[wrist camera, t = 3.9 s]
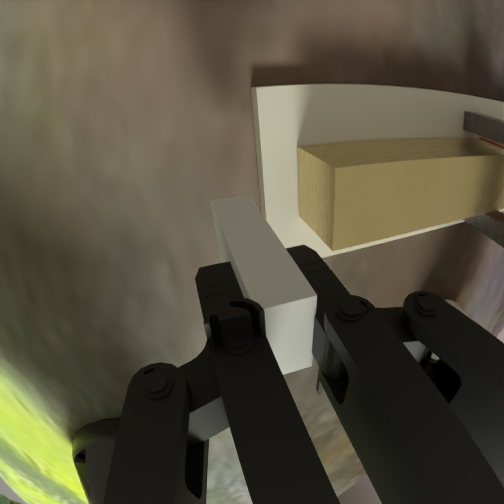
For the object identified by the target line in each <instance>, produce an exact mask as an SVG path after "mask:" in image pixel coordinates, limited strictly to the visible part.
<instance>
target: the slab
mask: <svg viewBox="0 0 504 504" xmlns="http://www.w3.org/2000/svg"><path fill="white" fill-rule="evenodd" d="M251 94H252V106H253V118H254V129H255V142H256V154H257V166H258V179H259V192H260V205H261V214H262V215H263V216H264V218H265V219H266V221H267V222H268V224H269V225H270V227H271V228H272V229H273V231H274V232H275V234H276V235H277V237H278V238H279V240H280V241H281V242H282V244H283V245H284V247H285V248H290V247H294V246H299V245H306V246H308V247H309V248H311V249H313V250H315V251H316V252H317V253H318V254H319V256H320V257H321V258H323V257H327V256H331V255H336V254H340V253H344V252H348V251H352V250H356V249H360V248H364V247H368V246H372V245H376V244H380V243H384V242H388V241H392V240H396V239H400V238H404V237H408V236H412V235H415V234H419V233H423V232H427V231H431V230H435V229H439V228H442V227H446V226H450V225H454V224H457V223H461V222H465V221H464V220H463V219H461V220H457V221H453V222H450V223H446V224H442V225H438V226H434V227H430V228H426V229H422V230H418V231H414V232H410V233H406V234H402V235H398V236H394V237H390V238H386V239H382V240H378V241H373V242H369V243H365V244H361V245H357V246H353V247H349V248H345V249H340V250H336V251H332V250H331V249H330V248H329V247H328V246H327V245H326V244H325V243H324V242H323V241H322V240H321V239H320V238H319V236H318V235H317V234H316V233H315V232H314V231H313V230H312V229H311V228H310V227H309V226H308V225H307V224H306V223H305V222H304V221H303V220H302V219H301V218H300V216H299V183H298V152H297V147H299V146H309V145H318V144H329V143H340V142H353V141H367V140H385V139H410V138H480V137H482V136H479V135H477V134H474V133H471V132H469V131H466V130H463V124H464V111H471V112H479V113H482V114H485V115H488V116H492V117H495V118H498V119H501V120H504V102H502V101H498V100H493V99H488V98H483V97H478V96H472V95H467V94H461V93H454V92H448V91H440V90H433V89H424V88H415V87H404V86H391V85H374V84H342V83H321V84H288V85H271V86H258V87H251ZM498 211H500V212H502V211H504V208H503V209H500V210H498Z"/></svg>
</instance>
